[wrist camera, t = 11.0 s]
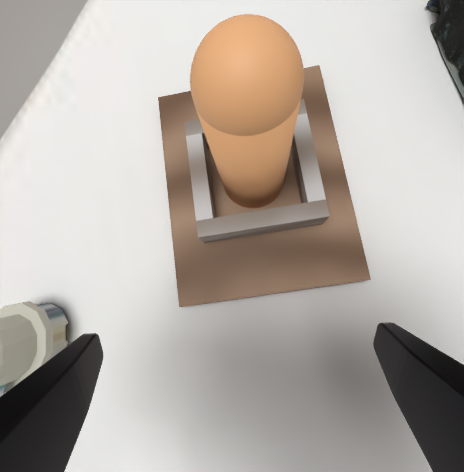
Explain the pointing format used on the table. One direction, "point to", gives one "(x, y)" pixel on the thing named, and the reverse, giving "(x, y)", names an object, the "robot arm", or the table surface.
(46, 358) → the grey cylindrical tool
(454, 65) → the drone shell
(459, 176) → the table surface
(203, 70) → the ball
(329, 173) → the jig
